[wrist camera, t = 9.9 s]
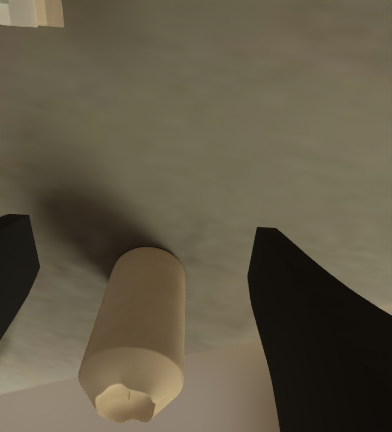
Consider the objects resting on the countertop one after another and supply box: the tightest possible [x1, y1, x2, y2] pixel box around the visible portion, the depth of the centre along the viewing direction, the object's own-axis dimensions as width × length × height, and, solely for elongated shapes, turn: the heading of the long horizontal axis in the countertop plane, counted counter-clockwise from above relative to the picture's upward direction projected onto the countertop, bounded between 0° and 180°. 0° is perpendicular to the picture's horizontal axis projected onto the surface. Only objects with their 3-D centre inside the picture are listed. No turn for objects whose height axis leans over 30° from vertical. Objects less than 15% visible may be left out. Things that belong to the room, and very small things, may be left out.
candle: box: [78, 247, 185, 423], centre depth 20 cm, size 6×6×10 cm
